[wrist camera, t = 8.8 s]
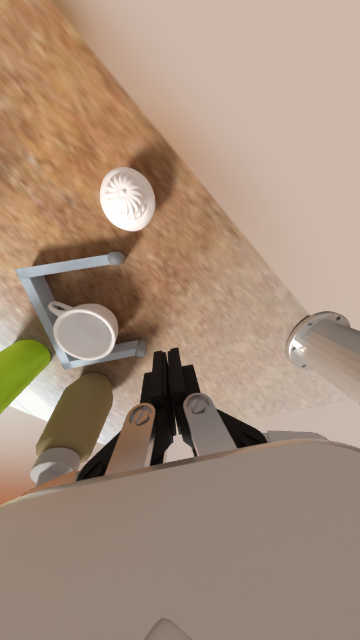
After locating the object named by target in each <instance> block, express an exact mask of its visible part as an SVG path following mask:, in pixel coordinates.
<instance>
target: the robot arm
mask: <svg viewBox="0 0 360 640" xmlns="http://www.w3.org/2000/svg"><path fill="white" fill-rule="evenodd" d="M286 349H287V356H288V358H289V360H290V361H291V362H292V363H293V364H294V365H295V366H297V367H298V368H301V369H306V370H312V369H314V370H315V371H316V372H318V373H319V374H320V375H321V376H323V377H324V378H325V379H327V380H328V381H329V382H331V383H332V384H333V385H335V386H336V387H337V388H339V389H340V390H341V391H342V392H344V393H345V394H346V395H348V396H349V397H350V398H352V399H353V400H354V401H356V402H357V403H358V404H360V331H358V330H355V329H352V328H350V324H349V322H348V321H347V319H346V318H345V317H344V316H342V315H340V314H338V313H335V312H328V311H326V312H320V313H316V314H314V315H311V316H309V317H308V318H306V319H305V320H303V321H302V322H301V323H300V324H299V325H298V326H297V327H296V328H295V329H294V331H293V332H292V333H291V335H290V337H289V340H288V343H287V348H286ZM170 350H171V351H168V362H167V357H166V353H165V352H162V351H156V352H154V356H153V368H152V372H149V373H145V374H144V380H143V386H142V393H141V400H140V404H138V405H136V406H135V407H133V408H132V409H131V410H130V411H129V413H128V414H127V416H126V419H125V422H124V424H123V427H122V430H121V431H120V432H119V433H118V434H117V435H116V436H115V437H114V438H113V439H112V440H111V441H110V442H109V443H108V444H106V445H105V446H104V447H103V448H102V449H101V450H100V451H99V452H98V453H97V454H96V455H95V456H94V457H93V458H92V459H91V460H90V461H88V463H87V464H86V465H85V466H84V467H83V469H82V470H80V471H78V469H76V470H73V471H71V472H69V473H67V474H64V475H62V476H60V477H57V478H55V479H53V480H51V481H48V482H46V483H44V484H41V485H39V486H37V487H35V488H32V489H30V490H29V491H27V492H25V493H24V494H23V495H21V496H20V497H19V498H16V499H13V500H11V501H9V502H7V503H4V504H2V505H0V640H360V448H357V447H354V446H351V445H347V444H344V443H340V442H335V441H329V440H328V439H327V438H325V437H323V436H321V435H319V434H317V433H312V432H291V431H267V433H261V432H260V431H258V430H257V429H255V428H253V427H252V426H250V425H247V424H246V423H244V422H242V421H240V420H238V419H236V418H234V417H232V416H230V415H228V414H226V413H224V412H222V411H220V410H218V409H216V408H215V406H214V404H213V402H212V400H211V399H210V398H209V396H207V395H206V394H203V393H200V389H199V385H198V382H197V378H196V374H195V371H194V367H193V364H192V365H187V366H181V361H180V355H179V349H178V348H173V349H170ZM175 418H176V422H177V427H178V431H179V434H182V437H183V441H184V442H185V443H186V444H188V445H189V446H191V449H192V453H193V456H194V457H193V458H188V459H183V460H178V461H173V462H168V463H166V459H167V451H166V450H167V448H168V447H169V446H170V444H171V443H173V436H175V435H176V423H175Z"/></svg>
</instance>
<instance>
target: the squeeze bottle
mask: <svg viewBox="0 0 360 640" xmlns="http://www.w3.org/2000/svg"><path fill="white" fill-rule="evenodd" d="M112 402H113V394H112V387H111V383H110V380H109V379H108V378H107V377H106V376H105V375H102V374H100V373H93V372H92V373H87V374H85V375H83V376H82V377H80V378H79V379H77V380H76V381H75V382H73V383H72V384H70V385H69V386H68V387H66V389H65V391H64V392H63V394H62V396H61V398H60V400H59V401H58V403H57V405H56V407H55V409H54V411H53V413H52V415H51V417H50V419H49V421H48V423H47V425H46V427H45V429H44V431H43V433H42V435H41V437H40V439H39V441H38V443H37V445H36V454H37V455H38V459H37V461H36V463H35V464H34V466H33V468H32V469H31V471H30V477H31V479H32V480H33V481H34V482H35V483H36V486H35V487H37V486H39V485H41V484H44V483H46V482H48V481H51V480H53V479H55V478H57V477H60V476H62V475H64V474H67V473H69V472H71V471H73V470H76V469H78V468H79V465H80V463H82V462H84V461H86V460H87V459H88V458H89V456H90V455H91V453H92V451H93V449H94V446H95V444H96V442H97V439H98V437H99V435H100V432H101V430H102V428H103V425H104V423H105V421H106V418H107V416H108V414H109V411H110V409H111V407H112Z"/></svg>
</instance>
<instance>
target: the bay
mask: <svg viewBox="0 0 360 640" xmlns="http://www.w3.org/2000/svg"><path fill="white" fill-rule="evenodd" d="M124 261H125V255H124V254H123V253H122V252H110V253H109V254H108V255H102V256H95V257H89V258H83V259H77V260H70V261H64V262H58V263H52V264H45V265H39V266H33V267H27V268H20V269H15V271H16V273H17V275H18V277H19V279H20V281H21V283H22V285H23V287H24V289H25V291H26V293H27V295H28V297H29V299H30V301H31V303H32V305H33V307H34V309H35V311H36V313H37V315H38V317H39V319H40V321H41V323H42V325H43V327H44V329H45V331H46V333H47V335H48V337H49V339H50V341H51V343H52V345H53V347H54V349H55V351H56V353H57V355H58V357H59V359H60V361H61V363H62V365H63V367H64V369H70V368H75V367H80V366H85V365H90V364H95V363H101V362H106V361H111V360H116V359H121V358H126V357H132V356H137V357H144V356H145V354H146V346H147V341H146V339H144V338H141V339H139V340H135V341H130V342H125V343H119V344H115V345H114V347H113V349H112V351H111V352H110V353H109V354H108V355H106V356H105V357H103V358H100V359H97V360H82V359H78V358H75V357H73V356H71V355H69V354H67V353H66V352H65V351H64V350H62V349H61V348H60V346H59V345H58V344H57V342H56V340H55V337H54V333H53V328H54V324H55V321H56V320H57V318H58V316H57V315H55V314H54V313H52V312H51V311H50V310H49V308H48V305H49V304H50V303H51V302H52V301H55V299H54V297H53V295H52V292H51V290H50V288H49V286H48V283H47V281H46V279H45V277H44V275H48V274H54V273H60V272H66V271H72V270H79V269H85V268H91V267H97V266H103V265H109V264H112V265H118V264H121V263H123V262H124ZM53 307H54V308H55V309H58V310H59V308H58V306H57V305H53Z"/></svg>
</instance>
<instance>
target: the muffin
mask: <svg viewBox="0 0 360 640" xmlns="http://www.w3.org/2000/svg"><path fill="white" fill-rule="evenodd" d="M100 202H101V206H102V209H103V211H104V213H105V215H106V216H107V218H108V219H109V220H110V221H111V222H112V223H113V224H114V225H116V226H117V227H119V228H121V229H123V230H127V231H138V230H141V229H142V228H144V227H145V226H146V225H147V224H148V223H149V222H150V220H151V219H152V217H153V215H154V211H155V196H154V192H153V189H152V187H151V185H150V183H149V182H148V180H147V179H146V178H145V177H144V176H143V175H142V174H141V173H139V172H138V171H136V170H134V169H132V168H129V167H118V168H115V169H113V170H111V171H110V172H109V173H108V174H107V175H106V176H105V178H104V179H103V182H102V184H101V188H100Z"/></svg>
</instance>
